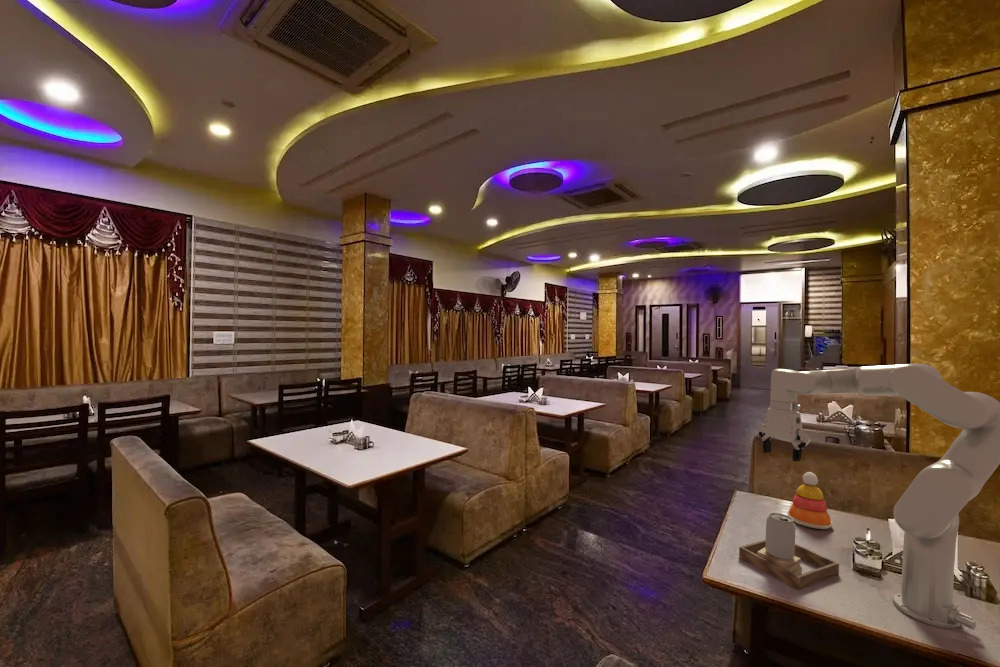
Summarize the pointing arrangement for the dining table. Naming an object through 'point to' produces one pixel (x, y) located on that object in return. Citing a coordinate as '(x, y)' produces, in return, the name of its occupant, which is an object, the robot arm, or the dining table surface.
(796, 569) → the offcut stack
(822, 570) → the wooden frame
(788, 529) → the can
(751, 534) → the dining table surface
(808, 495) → the stacking toy
